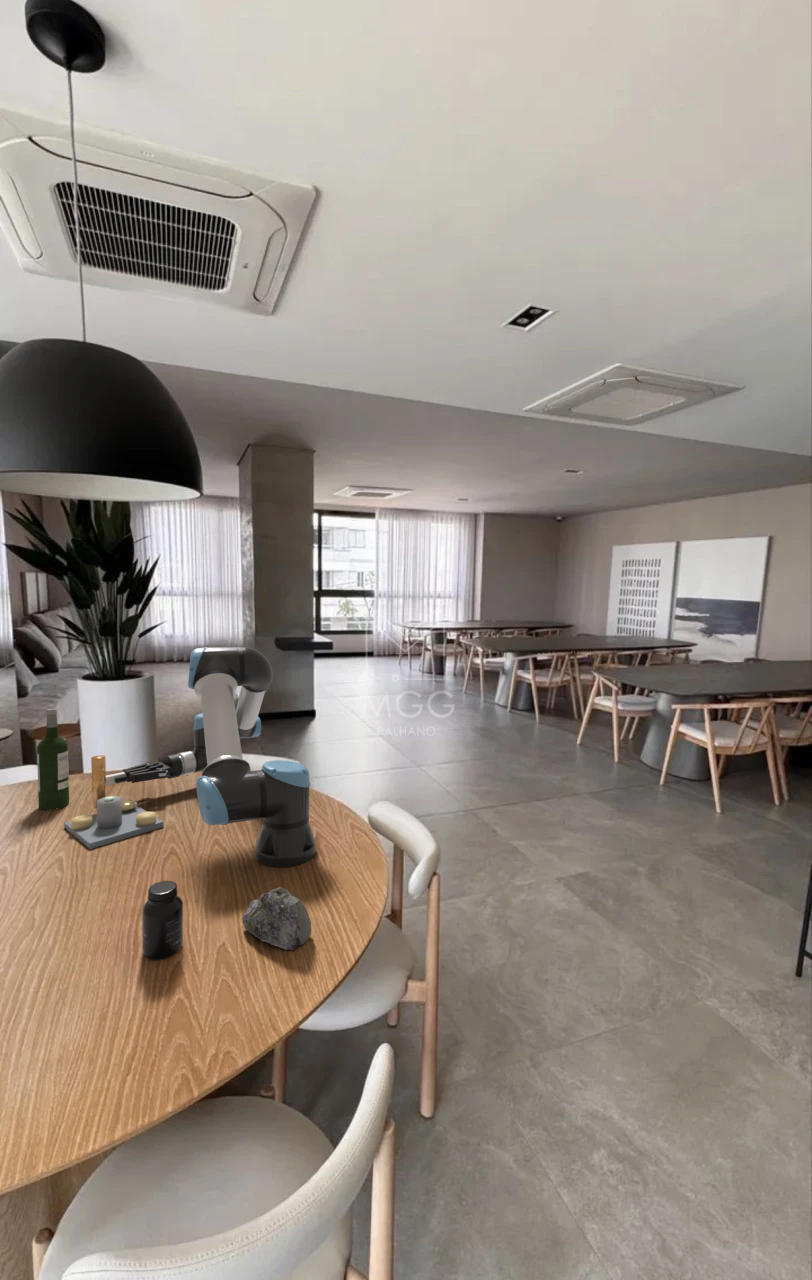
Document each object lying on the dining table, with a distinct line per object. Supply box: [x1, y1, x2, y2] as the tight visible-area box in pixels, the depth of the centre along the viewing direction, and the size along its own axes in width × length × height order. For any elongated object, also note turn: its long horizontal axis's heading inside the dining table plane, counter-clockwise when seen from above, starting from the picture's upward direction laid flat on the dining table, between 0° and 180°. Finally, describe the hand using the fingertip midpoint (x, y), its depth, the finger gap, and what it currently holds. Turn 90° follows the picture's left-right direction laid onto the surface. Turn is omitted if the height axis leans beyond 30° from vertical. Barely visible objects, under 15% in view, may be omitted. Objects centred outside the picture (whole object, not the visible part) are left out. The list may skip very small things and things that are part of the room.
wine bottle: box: [36, 708, 70, 810], centre depth 166 cm, size 8×8×30 cm
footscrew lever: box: [90, 754, 138, 812], centre depth 160 cm, size 13×5×16 cm, turn 90°
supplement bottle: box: [141, 880, 184, 961], centre depth 100 cm, size 7×7×12 cm
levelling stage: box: [63, 795, 165, 850], centre depth 152 cm, size 19×19×9 cm
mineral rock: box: [241, 887, 312, 951], centre depth 105 cm, size 13×11×10 cm
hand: (101, 781), depth 163 cm, fingers closed
